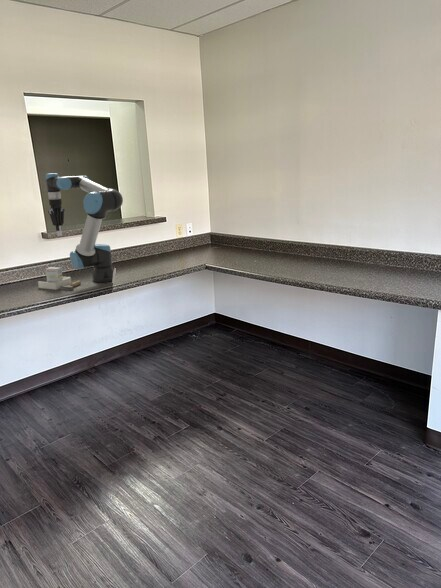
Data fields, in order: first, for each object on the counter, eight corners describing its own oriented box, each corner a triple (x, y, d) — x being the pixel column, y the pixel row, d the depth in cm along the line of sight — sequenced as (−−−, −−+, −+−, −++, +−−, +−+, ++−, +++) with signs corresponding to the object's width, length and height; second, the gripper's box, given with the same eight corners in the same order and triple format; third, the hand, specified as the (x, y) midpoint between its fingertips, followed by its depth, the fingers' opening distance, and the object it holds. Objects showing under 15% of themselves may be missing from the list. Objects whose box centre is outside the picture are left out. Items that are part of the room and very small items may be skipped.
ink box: (64, 285, 279) (61, 267, 275) (60, 287, 274) (57, 269, 271) (52, 284, 280) (49, 266, 277) (47, 287, 276) (44, 268, 272)
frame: (71, 283, 283) (71, 277, 282) (56, 289, 270) (55, 283, 269) (55, 281, 287) (54, 275, 286) (38, 287, 274) (38, 281, 273)
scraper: (74, 283, 282) (73, 280, 281) (84, 284, 279) (84, 281, 278) (60, 289, 270) (60, 285, 270) (71, 290, 268) (70, 286, 267)
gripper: (57, 197, 287) (61, 233, 294) (42, 199, 276) (48, 237, 283) (66, 197, 285) (71, 234, 292) (52, 199, 273) (57, 237, 280)
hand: (59, 235), depth 287 cm, fingers closed
